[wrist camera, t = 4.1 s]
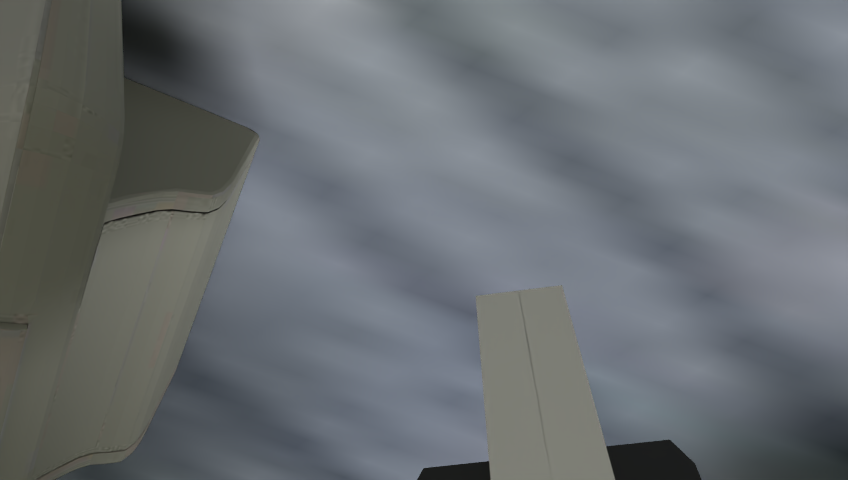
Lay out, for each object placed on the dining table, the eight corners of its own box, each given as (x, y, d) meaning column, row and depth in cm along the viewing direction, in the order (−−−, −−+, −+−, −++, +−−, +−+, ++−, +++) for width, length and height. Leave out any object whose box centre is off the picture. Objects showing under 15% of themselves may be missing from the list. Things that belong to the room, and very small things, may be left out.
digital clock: (64, -126, 20) (-279, -87, 10) (372, 83, 22) (321, 272, 13) (-143, 329, 26) (-479, 617, 16) (114, 458, 28) (-51, 776, 19)
